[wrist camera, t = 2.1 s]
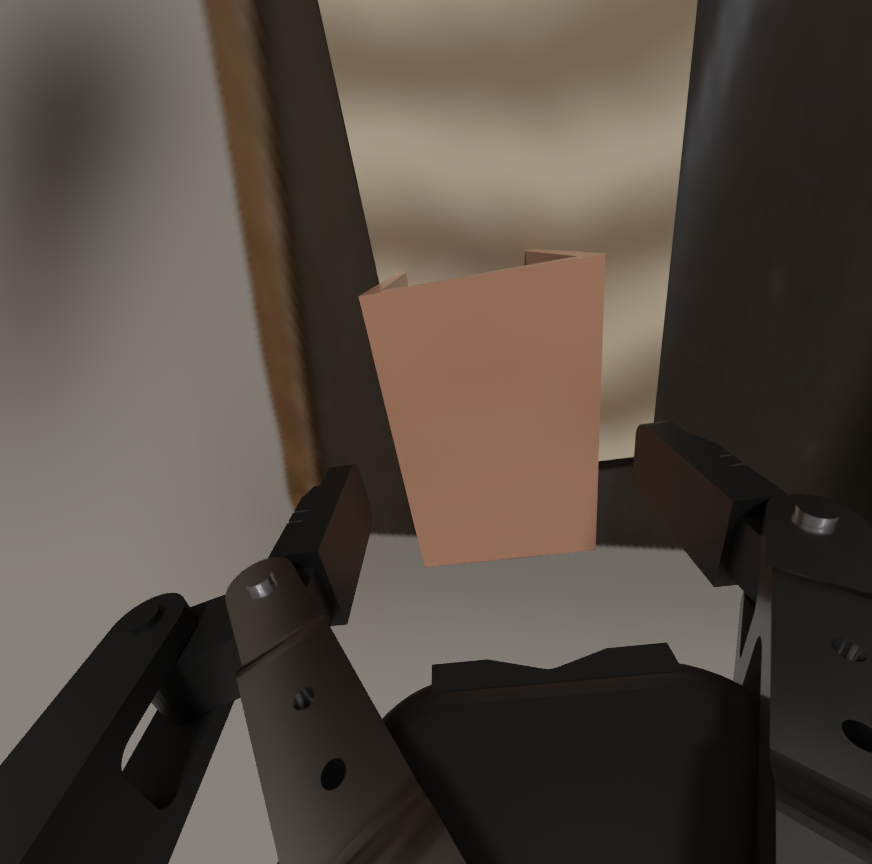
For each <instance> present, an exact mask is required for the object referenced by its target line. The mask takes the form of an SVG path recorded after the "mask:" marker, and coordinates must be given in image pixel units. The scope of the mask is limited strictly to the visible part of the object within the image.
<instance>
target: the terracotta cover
mask: <svg viewBox="0 0 872 864" xmlns="http://www.w3.org/2000/svg"><path fill="white" fill-rule="evenodd" d="M525 256H526V265H524V266H519V267H513V268H507V269H502V270H496V271H490V272H485V273H479V274H473V275H468V276H462V277H456V278H450V279H445V280H439V281H433V282H428V283H422V284H416V285H411V286H408V281H407V276H406V272H405V273H400V274H395V275H393V276H392V277H390V278H388V279H387V280H385V281H383V282H382V283H380V284H378V285H377V286H375V287H373V288H372V289H370V290H369V291H367V292H365V293H364V294H362V295H360V296H359V300H360V304H361V308H362V313H363V317H364V321H365V325H366V329H367V333H368V337H369V341H370V345H371V349H372V354H373V358H374V362H375V366H376V370H377V374H378V378H379V382H380V386H381V390H382V394H383V399H384V403H385V407H386V411H387V415H388V419H389V423H390V427H391V431H392V435H393V440H394V444H395V448H396V452H397V456H398V460H399V464H400V468H401V472H402V476H403V481H404V485H405V489H406V493H407V497H408V501H409V505H410V509H411V513H412V517H413V522H414V526H415V530H416V534H417V538H418V542H419V546H420V550H421V554H422V558H423V563H424V566H425V567H434V566H443V565H453V564H463V563H473V562H483V561H493V560H502V559H512V558H521V557H531V556H542V555H551V554H561V553H570V552H581V551H591V550H596V520H597V490H598V461H599V431H600V401H601V371H602V341H603V312H604V282H605V253H592V252H576V251H561V250H545V249H534V250H528V251H525Z"/></svg>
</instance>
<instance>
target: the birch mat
mask: <svg viewBox="0 0 872 864" xmlns="http://www.w3.org/2000/svg"><path fill="white" fill-rule="evenodd" d="M697 1H698V0H318V3H319V7H320V12H321V16H322V21H323V26H324V30H325V35H326V39H327V44H328V49H329V53H330V58H331V62H332V67H333V72H334V76H335V81H336V86H337V90H338V95H339V99H340V104H341V109H342V113H343V118H344V122H345V127H346V132H347V136H348V141H349V145H350V150H351V155H352V159H353V164H354V168H355V173H356V178H357V182H358V187H359V191H360V196H361V201H362V205H363V210H364V214H365V219H366V224H367V228H368V233H369V237H370V242H371V247H372V251H373V256H374V260H375V265H376V270H377V274H378V279H379V284H380V283H382V282H383V281H385V280H387V279H388V278H390V277H392V276H393V275H395V274H400V273H405V272H406V276H407V281H408V286H411V285H416V284H422V283H428V282H433V281H439V280H445V279H450V278H456V277H462V276H468V275H473V274H479V273H485V272H490V271H496V270H502V269H507V268H513V267H519V266H524V265H526V256H525V251H528V250H534V249H545V250H561V251H576V252H592V253H605V282H604V312H603V341H602V371H601V401H600V431H599V461H604V460H612V459H620V458H628V457H634V450H635V436H636V430H637V427H638V426H639V425H640V424H646V423H653V422H654V413H655V403H656V394H657V384H658V374H659V365H660V355H661V346H662V336H663V326H664V317H665V307H666V298H667V288H668V279H669V269H670V259H671V250H672V240H673V231H674V221H675V212H676V202H677V192H678V183H679V173H680V164H681V154H682V144H683V135H684V125H685V116H686V106H687V97H688V87H689V77H690V68H691V58H692V49H693V39H694V30H695V20H696V10H697Z"/></svg>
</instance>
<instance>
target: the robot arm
mask: <svg viewBox="0 0 872 864" xmlns="http://www.w3.org/2000/svg"><path fill="white" fill-rule="evenodd" d="M633 480H634V484H635V487H636V489H637V491H638V493H639V495H640V496H641V497H642V498H643V500H644V501H645V502H646V503H647V505H648V506H649V507H650V508H651V510H652V511H653V512H654V513H655V515H656V516H657V517H658V518H659V519H660V521H661V522H662V523H663V524H664V526H665V527H666V528H667V529H668V531H669V532H670V533H671V534H672V536H673V537H674V538H675V539H676V540H677V542H678V543H679V544H680V545H681V547H682V548H683V549H684V550H685V552H686V553H687V554H688V555H689V556H690V558H691V559H692V560H693V561H694V563H695V564H696V565H697V566H698V568H699V569H700V570H701V571H702V573H703V574H704V575H705V576H706V577H707V579H708V580H709V581H710V582H711V584H712V585H713V586H714V587H720V586H730V585H739V587H740V588H741V589H742V590H743V591H744V592H743V595H742V599H741V603H740V615H739V626H738V638H737V650H736V661H735V671H734V678H733V681H732V680H730V679H728V678H725V677H723V676H721V675H718V674H715V673H713V672H710V671H707V670H704V669H701V668H697V667H693V666H689V665H685V664H679V663H678V661H677V659H676V658H675V656H674V654H673V652H672V651H671V649H670V647H669V645H668V644H667V643H657V644H647V645H637V646H626V647H616V648H606V649H604V650H601V651H599V652H596V653H593V654H591V655H588V656H586V657H583V658H580V659H578V660H575V661H573V662H570V663H568V664H565V665H562V666H560V667H557V668H554V669H542V668H536V667H530V666H523V665H517V664H511V663H505V662H499V661H493V660H478V661H467V662H458V663H446V664H436V665H432V685H430V686H427V687H425V688H423V689H421V690H419V691H417V692H415V693H413V694H411V695H410V696H408V697H407V698H406V699H404V700H403V701H401V702H400V703H399V704H397V705H396V706H395V707H394V708H393V709H392V710H391V711H390V712H388V713H387V714H386V715H385V717H384V718H383V719H382V718H381V716H380V715H379V713H378V711H377V709H376V707H375V706H374V704H373V702H372V700H371V698H370V697H369V696H368V693H367V692H366V690H365V688H364V686H363V684H362V683H361V681H360V679H359V677H358V675H357V674H356V672H355V670H354V668H353V666H352V665H351V663H350V661H349V659H348V658H347V656H346V654H345V653H344V650H343V649H342V647H341V645H340V644H339V642H338V640H337V638H336V636H335V634H334V633H333V631H332V629H331V628H330V627H331V626H336V625H345V624H347V623H348V619H349V615H350V611H351V607H352V603H353V599H354V595H355V591H356V587H357V583H358V579H359V575H360V571H361V567H362V563H363V559H364V555H365V551H366V546H367V543H368V539H369V535H370V531H371V526H372V514H371V508H370V504H369V501H368V497H367V494H366V491H365V488H364V484H363V481H362V478H361V474H360V471H359V469H358V467H357V466H356V465H355V464H353V465H346V466H339V467H332V468H330V469H329V470H328V472H327V474H326V475H325V477H324V479H323V481H322V483H321V485H320V486H315V487H313V488H312V489H311V490H310V491H309V492H308V493H307V494H306V495H304V496H303V497H302V498H301V500H300V502H299V503H298V505H297V507H296V509H295V513H293V514H292V516H291V518H290V520H289V523H288V524H287V525H286V527H285V529H284V530H283V532H282V534H281V536H280V538H279V539H278V541H277V543H276V545H275V546H274V548H273V550H272V552H271V554H270V555H269V557H268V559H264V560H261V561H259V562H257V563H255V564H253V565H251V566H250V567H248V568H246V569H245V570H244V571H242V572H241V573H240V574H239V575H238V576H237V577H236V578H235V579H234V580H233V581H232V582H231V584H230V585H229V587H228V589H227V592H226V594H225V595H223V596H220V597H217V598H214V599H212V600H209V601H206V602H203V603H201V604H198V605H196V606H192V607H189V605H188V604H187V602H186V601H185V599H184V598H183V596H181V595H180V594H177V593H166V594H162V595H159V596H156V597H153V598H151V599H149V600H147V601H145V602H143V603H141V604H140V605H138V606H137V607H135V608H133V609H132V610H131V611H129V612H128V613H127V614H125V615H124V616H123V617H122V618H121V619H120V620H119V621H118V622H117V623H116V624H115V625H114V626H113V627H112V628H111V630H110V631H109V632H108V633H107V635H106V636H105V637H104V638H103V640H102V641H101V642H100V643H99V644H98V646H97V647H96V648H95V649H94V651H93V652H92V653H91V654H90V656H89V657H88V658H87V659H86V660H85V662H84V663H83V664H82V665H81V667H80V668H79V669H78V670H77V672H76V673H75V674H74V675H73V677H72V678H71V679H70V680H69V682H68V683H67V684H66V685H65V686H64V688H63V689H62V690H61V691H60V693H59V694H58V695H57V696H56V697H55V699H54V700H53V701H52V702H51V704H50V705H49V706H48V707H47V709H46V710H45V711H44V712H43V714H42V715H41V716H40V717H39V718H38V720H37V721H36V722H35V723H34V725H33V726H32V727H31V728H30V730H29V731H28V732H27V733H26V734H25V736H24V737H23V738H22V739H21V741H20V742H19V743H18V744H17V746H16V747H15V748H14V749H13V750H12V752H11V753H10V754H9V755H8V757H7V758H6V759H5V760H4V762H3V763H2V764H1V765H0V864H168V863H169V860H170V858H171V855H172V853H173V851H174V848H175V845H176V843H177V840H178V838H179V836H180V833H181V831H182V828H183V826H184V824H185V821H186V818H187V816H188V814H189V811H190V809H191V806H192V804H193V801H194V799H195V796H196V794H197V791H198V789H199V787H200V784H201V782H202V779H203V777H204V774H205V772H206V769H207V767H208V764H209V762H210V759H211V757H212V754H213V752H214V750H215V747H216V745H217V742H218V740H219V737H220V735H221V732H222V730H223V727H224V725H225V722H226V720H227V718H228V715H229V713H230V710H231V707H232V705H233V703H234V700H236V699H238V698H241V701H242V705H243V710H244V714H245V718H246V723H247V727H248V731H249V735H250V739H251V744H252V748H253V753H254V757H255V761H256V765H257V769H258V774H259V778H260V782H261V787H262V791H263V795H264V800H265V804H266V808H267V812H268V817H269V821H270V825H271V830H272V834H273V838H274V842H275V847H276V851H277V855H278V860H279V861H278V863H277V864H872V523H868V522H867V521H866V519H865V518H863V517H862V516H861V515H860V514H858V513H857V512H855V511H854V510H852V509H850V508H848V507H847V506H844V505H842V504H840V503H837V502H834V501H832V500H828V499H825V498H821V497H817V496H812V495H805V494H787V493H785V492H784V491H782V490H781V489H780V488H778V487H777V486H775V485H774V484H773V483H771V482H770V481H768V480H767V479H765V478H764V477H763V476H761V475H760V474H758V473H757V472H756V471H754V470H753V469H751V468H750V467H748V466H747V465H743V462H741V461H740V460H739V459H737V458H736V457H734V456H730V453H729V452H727V451H726V450H724V449H723V448H722V447H720V446H719V445H717V444H716V443H714V442H712V441H709V440H706V439H704V438H701V437H698V436H696V435H690V434H689V433H687V432H686V431H685V430H683V429H682V428H681V427H679V426H678V425H676V424H675V423H674V422H672V421H670V420H668V421H660V422H653V423H646V424H640V425H639V426H638V427H637V430H636V436H635V450H634V464H633ZM150 703H152V704H153V705H154V706H155V707H156V708H157V711H156V713H155V715H154V717H153V718H152V720H151V722H150V724H149V726H148V727H147V729H146V731H145V732H144V734H143V736H142V738H141V740H140V741H139V743H138V745H137V747H136V749H135V750H134V752H133V754H132V756H131V757H130V759H129V761H128V763H127V764H126V766H125V768H124V770H123V771H122V770H121V763H122V757H123V752H124V749H125V747H126V745H127V742H128V741H129V739H130V737H131V735H132V734H133V732H134V730H135V728H136V727H137V725H138V723H139V722H140V720H141V718H142V717H143V715H144V713H145V711H146V710H147V708H148V706H149V705H150Z"/></svg>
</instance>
